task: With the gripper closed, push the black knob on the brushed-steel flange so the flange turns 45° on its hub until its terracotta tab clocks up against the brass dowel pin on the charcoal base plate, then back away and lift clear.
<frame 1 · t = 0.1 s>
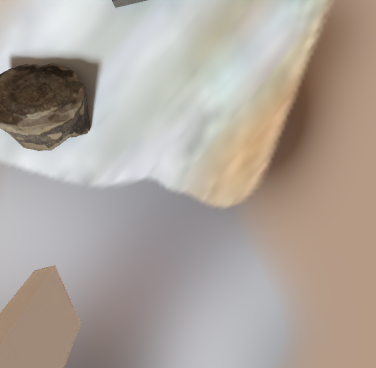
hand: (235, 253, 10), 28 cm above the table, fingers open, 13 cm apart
fossil: (54, 105, 34), on the table
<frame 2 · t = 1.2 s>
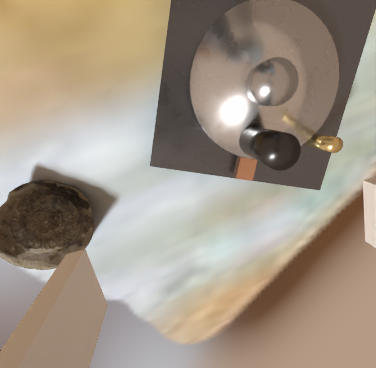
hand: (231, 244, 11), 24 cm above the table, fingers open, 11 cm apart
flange: (274, 95, 25), point 7 cm above the table, hinge at 0.0°
clock base: (253, 87, 32), on the table
fossil: (59, 214, 35), on the table
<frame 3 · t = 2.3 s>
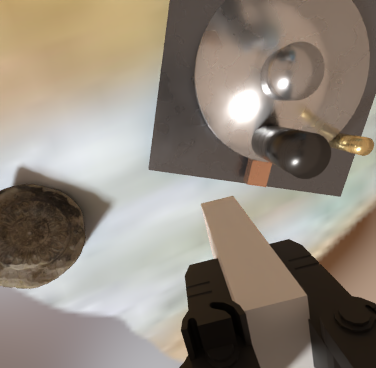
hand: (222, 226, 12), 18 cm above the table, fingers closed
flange: (296, 87, 21), point 7 cm above the table, hinge at 0.0°
clock base: (266, 79, 28), on the table
fossil: (47, 222, 31), on the table
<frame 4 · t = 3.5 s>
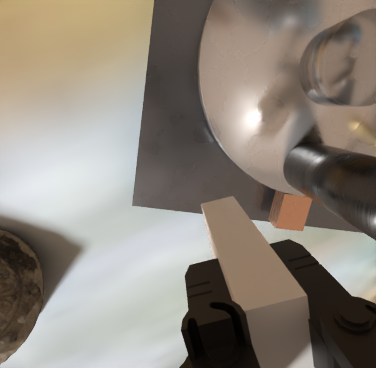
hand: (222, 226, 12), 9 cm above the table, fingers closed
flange: (367, 85, 13), point 7 cm above the table, hinge at 0.0°
clock base: (300, 75, 20), on the table
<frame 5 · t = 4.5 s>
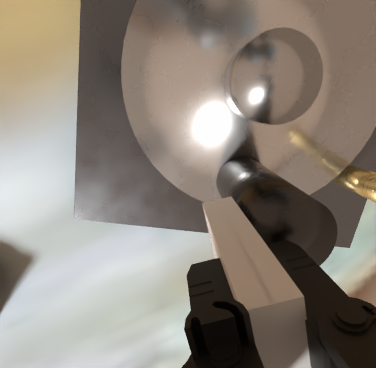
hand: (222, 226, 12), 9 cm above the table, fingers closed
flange: (276, 105, 13), point 7 cm above the table, hinge at 0.7°, touching gripper
clock base: (241, 87, 20), on the table
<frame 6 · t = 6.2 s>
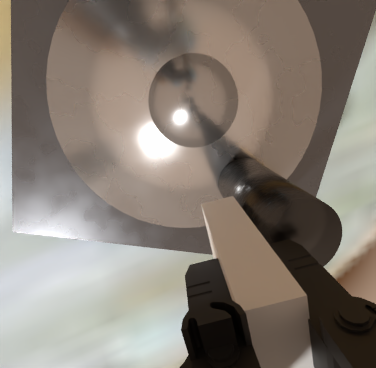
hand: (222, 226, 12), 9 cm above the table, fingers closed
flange: (209, 124, 13), point 7 cm above the table, hinge at 45.2°
clock base: (184, 103, 20), on the table
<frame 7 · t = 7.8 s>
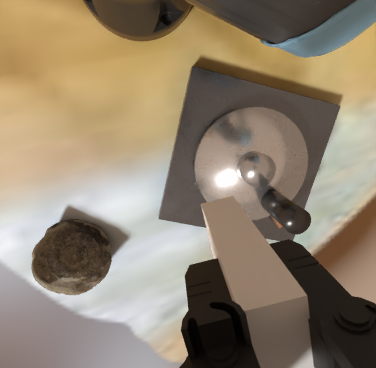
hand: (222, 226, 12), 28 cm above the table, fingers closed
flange: (264, 179, 34), point 7 cm above the table, hinge at 45.2°
clock base: (243, 161, 41), on the table
fossil: (81, 246, 42), on the table
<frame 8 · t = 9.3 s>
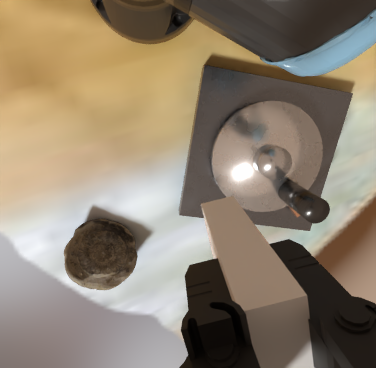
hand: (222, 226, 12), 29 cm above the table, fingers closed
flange: (281, 171, 35), point 7 cm above the table, hinge at 45.2°
clock base: (258, 154, 42), on the table
fossil: (106, 243, 44), on the table
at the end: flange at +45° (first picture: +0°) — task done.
